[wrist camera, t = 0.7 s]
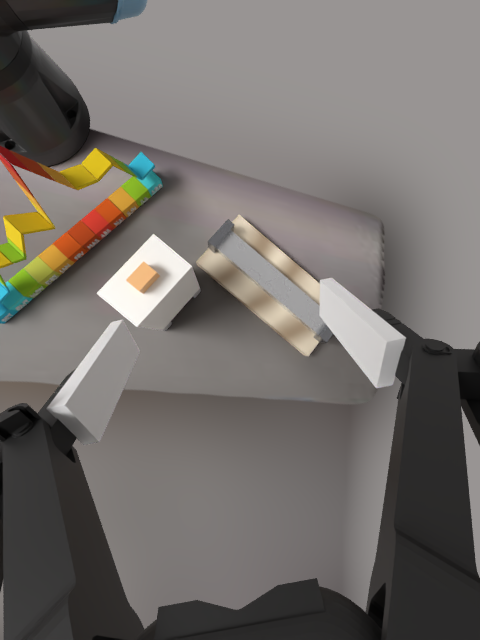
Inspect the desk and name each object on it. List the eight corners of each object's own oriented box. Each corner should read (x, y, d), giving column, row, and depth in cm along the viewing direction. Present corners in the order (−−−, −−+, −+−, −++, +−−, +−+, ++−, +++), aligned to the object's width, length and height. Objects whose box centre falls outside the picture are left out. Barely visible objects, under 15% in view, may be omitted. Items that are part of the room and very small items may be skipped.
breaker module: (139, 309, 33) (89, 290, 20) (176, 269, 34) (150, 227, 21) (165, 330, 33) (132, 326, 20) (201, 291, 34) (190, 262, 21)
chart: (7, 325, 32) (-181, 313, 17) (-9, 309, 32) (-212, 283, 17) (164, 188, 35) (126, 80, 20) (150, 174, 35) (101, 55, 20)
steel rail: (208, 248, 33) (207, 241, 31) (227, 227, 34) (228, 219, 32) (319, 342, 34) (326, 342, 32) (336, 320, 35) (344, 318, 32)
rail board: (197, 265, 35) (196, 261, 33) (238, 219, 36) (239, 214, 34) (304, 355, 35) (308, 356, 34) (341, 307, 36) (346, 306, 35)
